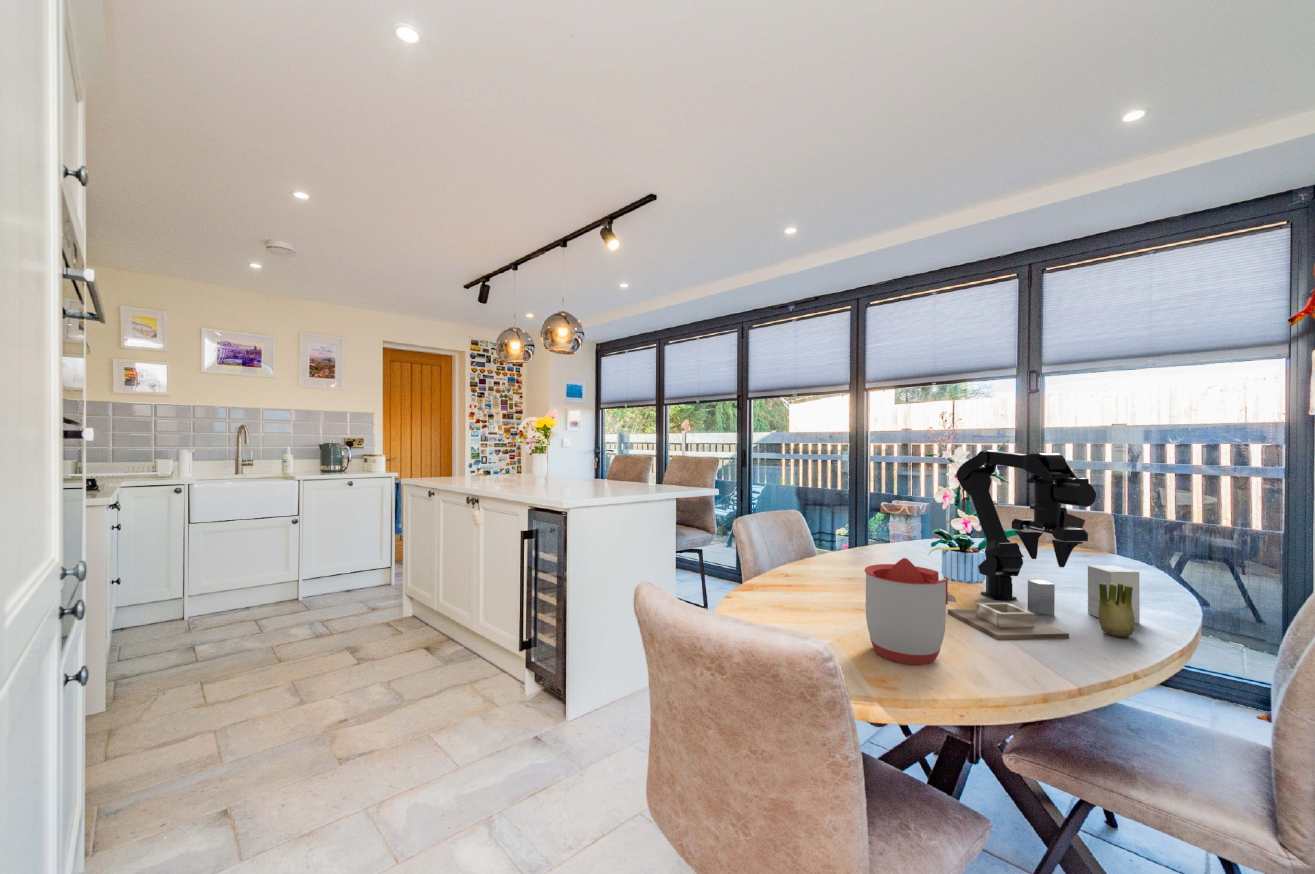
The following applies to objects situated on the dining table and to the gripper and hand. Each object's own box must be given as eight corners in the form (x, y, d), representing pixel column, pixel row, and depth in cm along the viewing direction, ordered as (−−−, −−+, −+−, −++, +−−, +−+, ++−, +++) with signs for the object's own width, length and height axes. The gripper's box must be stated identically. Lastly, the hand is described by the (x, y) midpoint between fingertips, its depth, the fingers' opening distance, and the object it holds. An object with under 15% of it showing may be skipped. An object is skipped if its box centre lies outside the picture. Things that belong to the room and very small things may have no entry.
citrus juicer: (969, 675, 101) (969, 569, 101) (871, 666, 104) (872, 564, 104) (942, 644, 116) (942, 552, 116) (858, 637, 120) (858, 548, 120)
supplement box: (1141, 623, 130) (1141, 571, 130) (1110, 623, 130) (1110, 571, 130) (1115, 613, 137) (1115, 564, 137) (1086, 613, 138) (1086, 564, 138)
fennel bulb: (1096, 633, 123) (1097, 581, 123) (1105, 629, 126) (1105, 578, 126) (1128, 641, 118) (1129, 587, 118) (1136, 637, 121) (1137, 584, 121)
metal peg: (1027, 610, 140) (1027, 579, 140) (1041, 610, 140) (1042, 579, 140) (1039, 615, 136) (1039, 584, 136) (1054, 615, 136) (1054, 583, 136)
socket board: (947, 613, 137) (947, 597, 137) (1010, 611, 138) (1010, 596, 138) (997, 639, 119) (997, 621, 119) (1069, 637, 120) (1069, 620, 120)
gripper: (1110, 506, 128) (1109, 571, 128) (1049, 498, 146) (1049, 555, 146) (1065, 506, 127) (1065, 571, 127) (1010, 498, 146) (1010, 555, 146)
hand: (1047, 562), depth 137 cm, fingers open, 9 cm apart
